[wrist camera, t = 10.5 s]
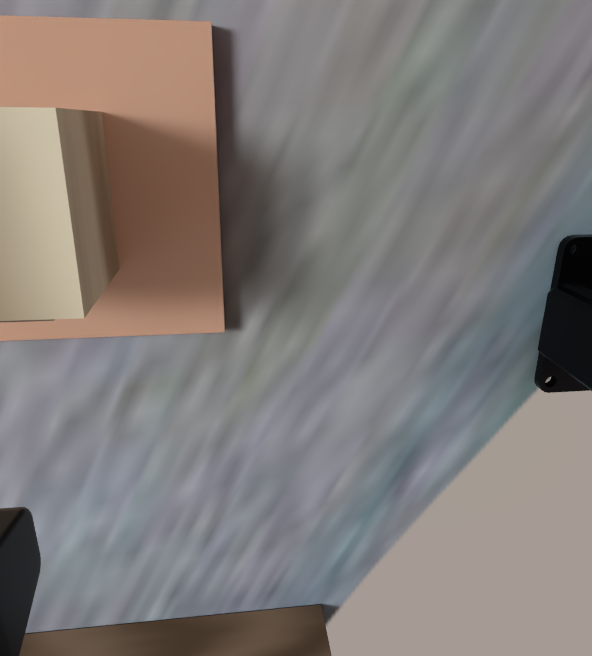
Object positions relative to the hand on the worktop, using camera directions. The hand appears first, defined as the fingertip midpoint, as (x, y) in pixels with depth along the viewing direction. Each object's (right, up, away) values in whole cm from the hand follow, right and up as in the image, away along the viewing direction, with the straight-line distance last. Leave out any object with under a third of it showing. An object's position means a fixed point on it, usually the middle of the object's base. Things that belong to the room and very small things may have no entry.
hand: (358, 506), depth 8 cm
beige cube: (-9, +7, +10) cm, 15 cm away
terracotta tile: (-9, +7, +10) cm, 16 cm away
